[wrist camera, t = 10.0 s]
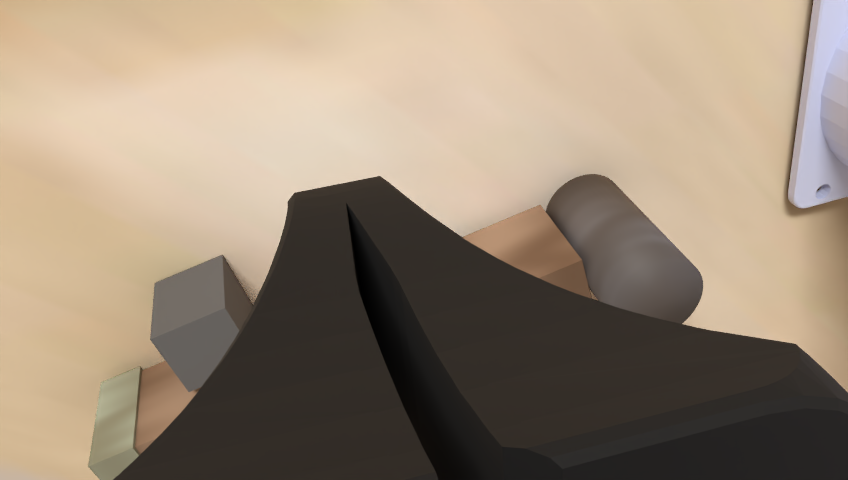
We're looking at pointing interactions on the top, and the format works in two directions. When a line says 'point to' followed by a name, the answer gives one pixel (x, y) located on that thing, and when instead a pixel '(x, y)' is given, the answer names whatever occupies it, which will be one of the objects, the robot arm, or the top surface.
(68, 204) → the top surface
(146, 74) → the top surface
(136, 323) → the top surface
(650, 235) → the gate
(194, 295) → the block
